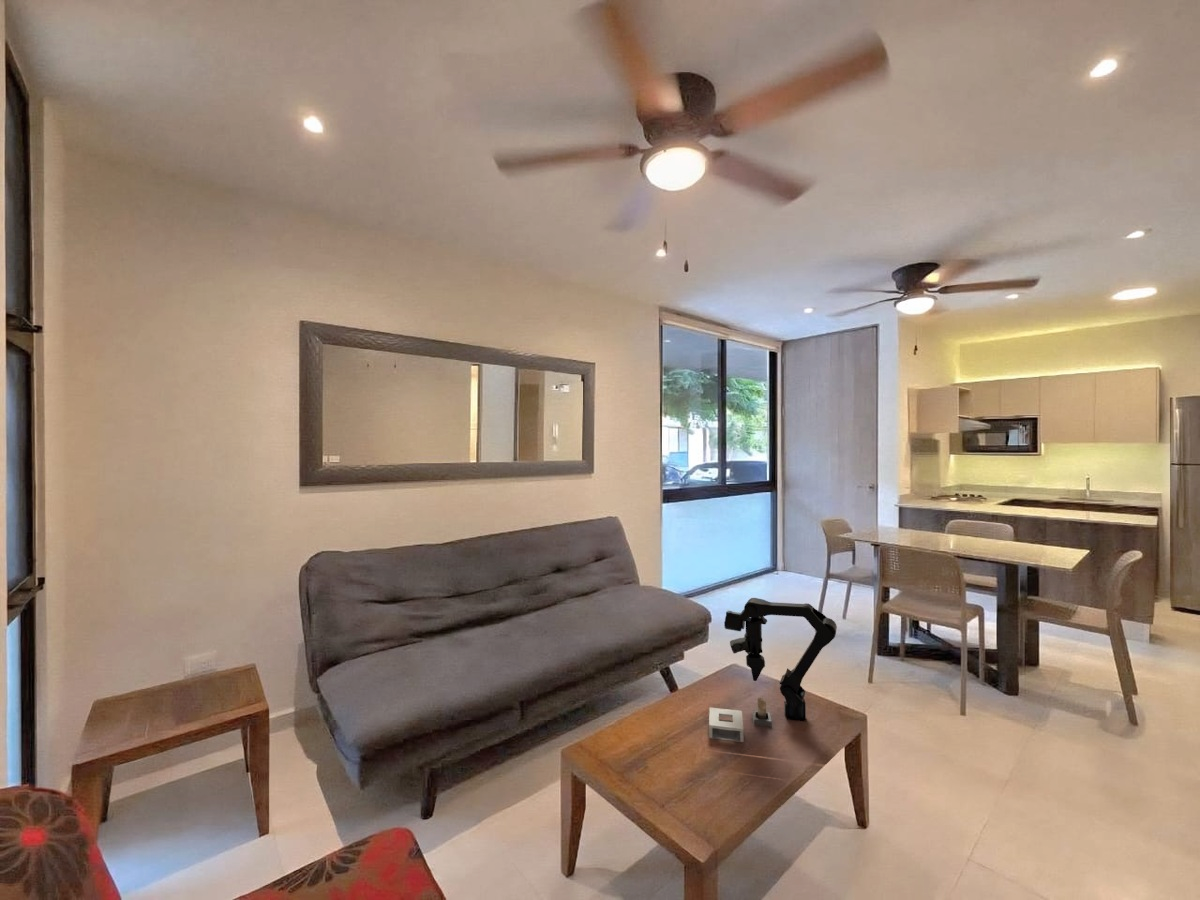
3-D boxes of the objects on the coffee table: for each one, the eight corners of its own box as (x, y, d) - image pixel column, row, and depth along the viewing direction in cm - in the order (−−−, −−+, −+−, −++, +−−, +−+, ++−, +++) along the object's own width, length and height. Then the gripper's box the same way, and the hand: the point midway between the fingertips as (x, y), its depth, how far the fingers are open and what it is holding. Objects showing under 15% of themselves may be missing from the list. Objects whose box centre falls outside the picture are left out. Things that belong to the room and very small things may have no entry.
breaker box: (741, 724, 173) (741, 710, 173) (743, 743, 163) (743, 729, 162) (709, 720, 176) (709, 707, 176) (709, 739, 165) (709, 725, 165)
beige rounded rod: (765, 719, 176) (765, 698, 175) (766, 723, 173) (766, 702, 173) (757, 718, 176) (757, 697, 176) (758, 722, 174) (758, 701, 173)
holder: (770, 718, 177) (770, 712, 177) (771, 727, 171) (771, 721, 171) (752, 716, 178) (752, 710, 178) (753, 725, 172) (753, 719, 172)
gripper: (730, 622, 195) (730, 661, 195) (732, 641, 177) (732, 685, 177) (759, 624, 192) (760, 664, 193) (764, 644, 174) (765, 688, 174)
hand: (753, 674), depth 184 cm, fingers open, 9 cm apart
